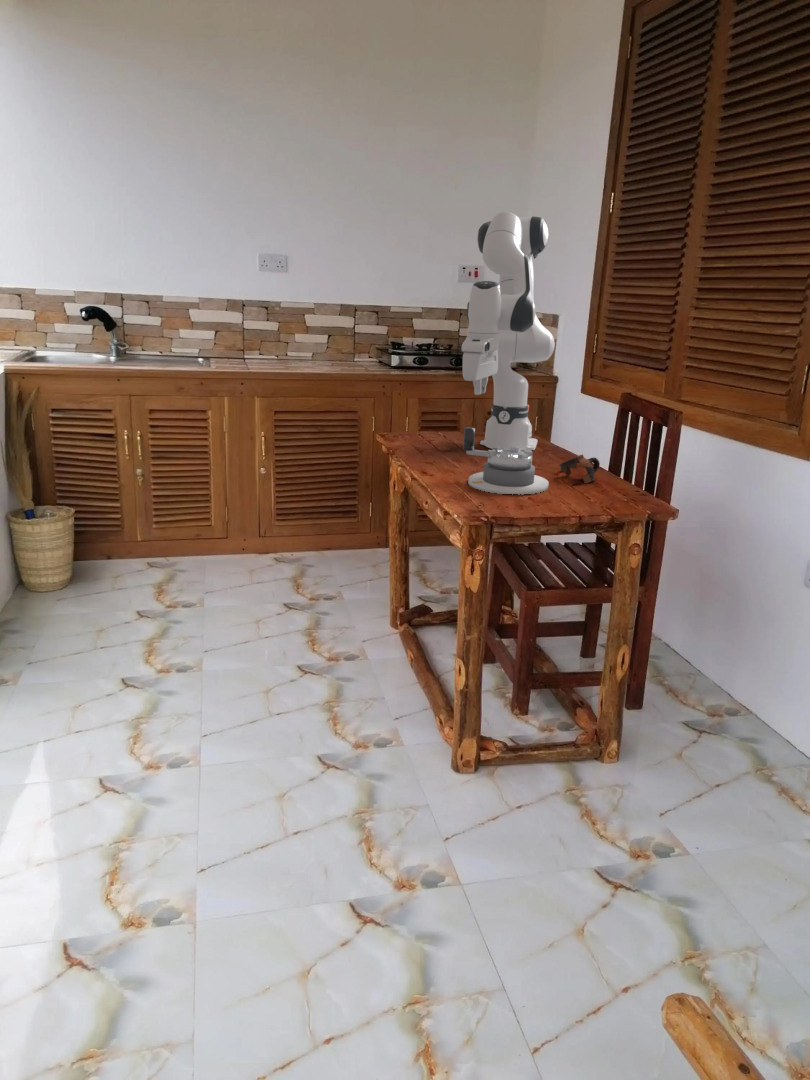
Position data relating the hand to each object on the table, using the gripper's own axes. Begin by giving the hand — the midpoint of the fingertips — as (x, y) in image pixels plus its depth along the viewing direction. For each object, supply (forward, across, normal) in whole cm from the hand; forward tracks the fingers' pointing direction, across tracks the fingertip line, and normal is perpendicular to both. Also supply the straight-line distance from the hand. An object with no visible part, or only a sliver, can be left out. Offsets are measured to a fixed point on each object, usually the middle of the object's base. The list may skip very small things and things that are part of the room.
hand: (479, 393), depth 225 cm
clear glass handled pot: (+18, +7, +8) cm, 21 cm away
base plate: (+23, +7, +12) cm, 27 cm away
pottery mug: (+23, -10, +28) cm, 38 cm away
